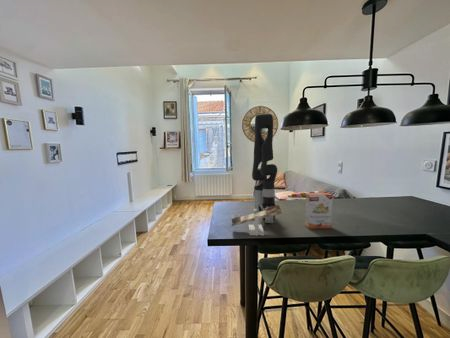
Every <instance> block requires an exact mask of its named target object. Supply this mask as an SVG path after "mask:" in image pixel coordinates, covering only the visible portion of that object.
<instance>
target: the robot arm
mask: <svg viewBox="0 0 450 338" xmlns="http://www.w3.org/2000/svg"><path fill="white" fill-rule="evenodd" d="M262 129H267V134H266V136H265V138H264V136H263V135H262V134H261V130H262ZM273 137H274V117H273V115H272V114H271V113H258V114H256V115H255V118H254V145H253V162H252V163H253V165H252V170H251V171H252V173H251V178H252V180H253V181H256V182H257V181H261V182H259V183H258V184H255V185H254V188H253V189H254V190H253V191H254V192H253V195H254V196H253V198H254V199H253V203H254V206H253V207H254V208H253V209H257V212H261V211H264V210H265V208H268V207H272V206H276V205H278V206H279V207H280V208H281V205H279V204H275V203H276V200H275V199H276V192H275V182H276V178H277V175H278V167H277V165H276V164H274V163H270V164H268V162H270V161H273V160H274V150H273V148H274V147H273V141H274V140H273ZM259 166H260V167H259ZM268 176H269V177H268ZM277 215H279V214H277ZM277 215H273V222H274V221H276V216H277ZM262 221H263V222H265V218H262Z"/></svg>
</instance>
